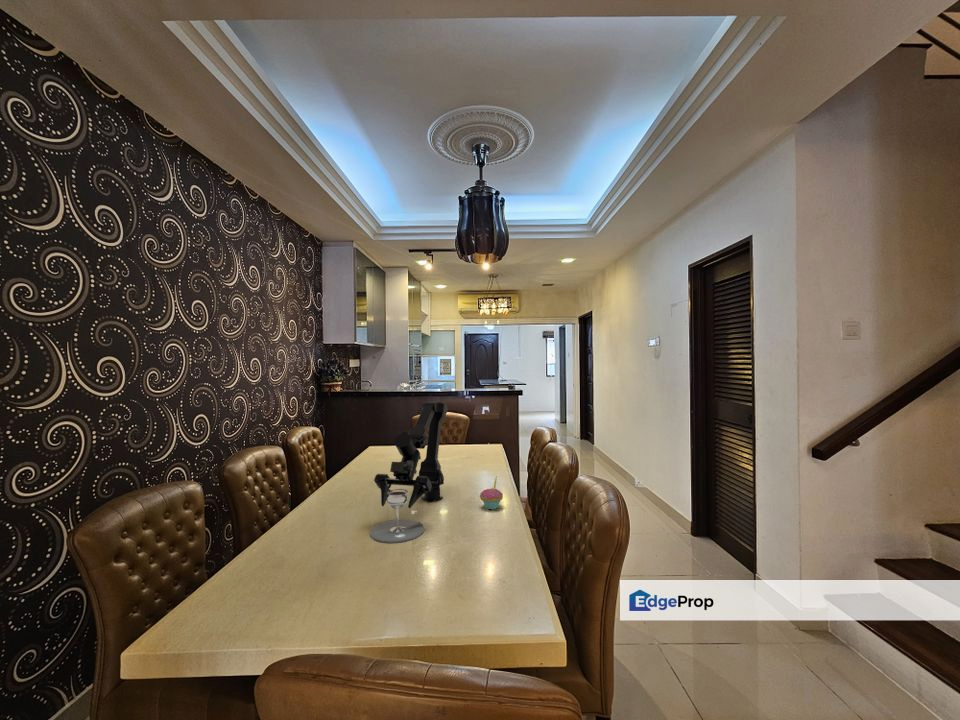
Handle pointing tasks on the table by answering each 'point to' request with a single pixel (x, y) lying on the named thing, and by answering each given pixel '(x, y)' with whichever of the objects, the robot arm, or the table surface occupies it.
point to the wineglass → (397, 504)
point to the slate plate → (386, 536)
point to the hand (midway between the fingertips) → (395, 506)
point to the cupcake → (491, 497)
